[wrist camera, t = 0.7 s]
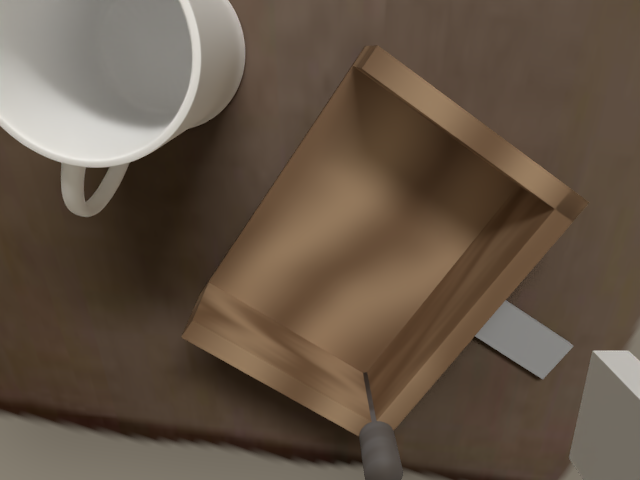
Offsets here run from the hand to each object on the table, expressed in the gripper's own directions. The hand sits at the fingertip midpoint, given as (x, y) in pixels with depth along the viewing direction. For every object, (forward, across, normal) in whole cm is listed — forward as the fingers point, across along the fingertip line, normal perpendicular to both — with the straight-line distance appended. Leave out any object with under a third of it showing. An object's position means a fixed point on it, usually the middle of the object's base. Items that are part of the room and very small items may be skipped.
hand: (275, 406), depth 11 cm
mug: (+22, -7, +5) cm, 24 cm away
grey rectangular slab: (+22, +15, -10) cm, 28 cm away
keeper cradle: (+22, +5, -4) cm, 23 cm away
